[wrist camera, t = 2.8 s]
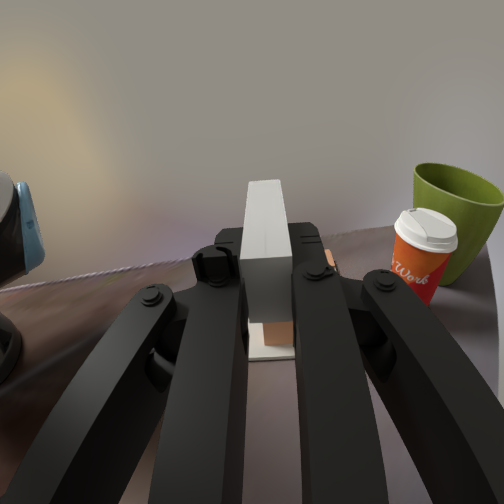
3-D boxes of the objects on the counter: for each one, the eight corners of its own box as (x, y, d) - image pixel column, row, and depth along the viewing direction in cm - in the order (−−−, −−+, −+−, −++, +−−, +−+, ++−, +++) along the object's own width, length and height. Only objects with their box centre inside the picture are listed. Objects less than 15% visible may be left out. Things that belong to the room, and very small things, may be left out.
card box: (264, 345, 32) (257, 270, 26) (264, 328, 34) (257, 253, 28) (324, 340, 31) (335, 265, 25) (321, 324, 33) (329, 249, 27)
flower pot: (479, 267, 39) (505, 185, 30) (465, 317, 31) (507, 217, 22) (412, 237, 48) (427, 156, 39) (382, 276, 40) (400, 176, 31)
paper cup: (364, 304, 36) (382, 210, 28) (405, 289, 37) (428, 202, 29) (395, 345, 30) (431, 248, 22) (437, 324, 31) (474, 233, 23)
